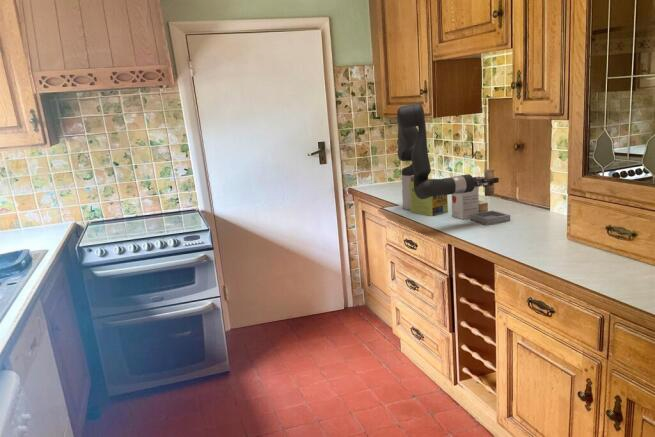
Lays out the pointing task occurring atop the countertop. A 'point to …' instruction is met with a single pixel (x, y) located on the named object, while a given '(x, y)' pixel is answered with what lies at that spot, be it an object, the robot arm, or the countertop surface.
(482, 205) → the stop block
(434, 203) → the protein box
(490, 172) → the dowel
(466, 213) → the supplement box
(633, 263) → the countertop surface
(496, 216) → the tray
